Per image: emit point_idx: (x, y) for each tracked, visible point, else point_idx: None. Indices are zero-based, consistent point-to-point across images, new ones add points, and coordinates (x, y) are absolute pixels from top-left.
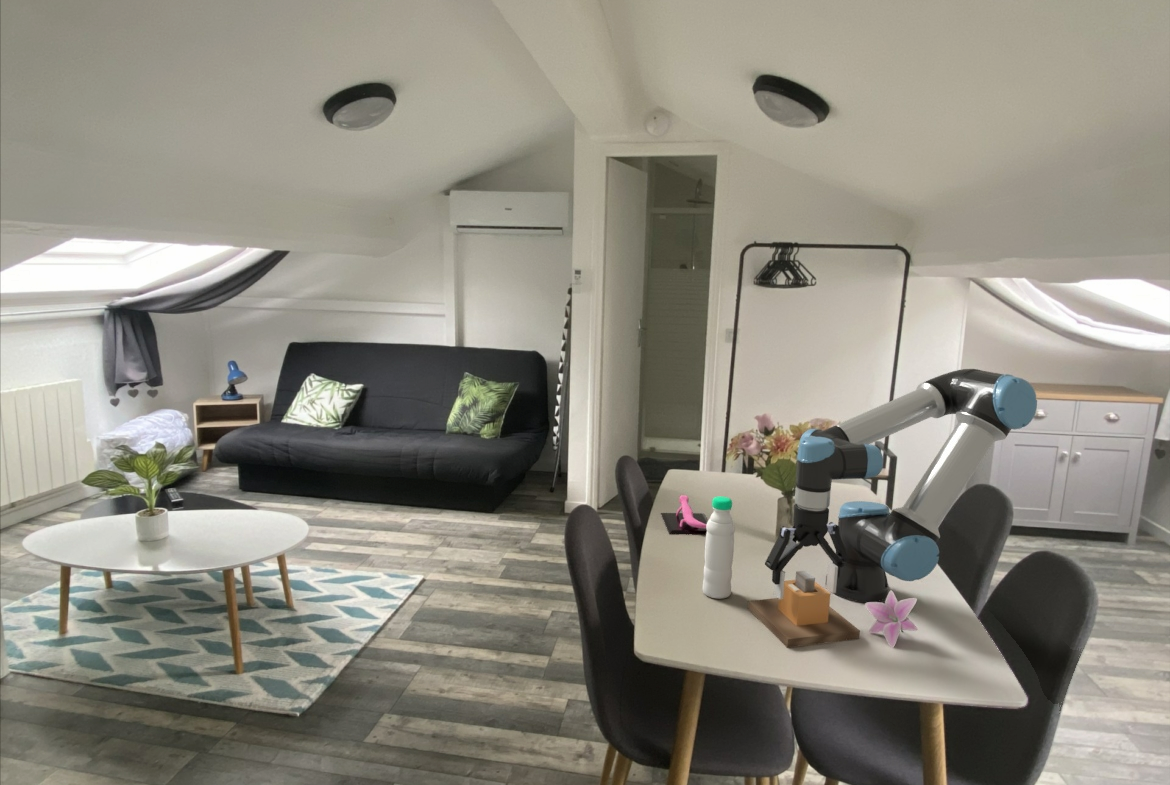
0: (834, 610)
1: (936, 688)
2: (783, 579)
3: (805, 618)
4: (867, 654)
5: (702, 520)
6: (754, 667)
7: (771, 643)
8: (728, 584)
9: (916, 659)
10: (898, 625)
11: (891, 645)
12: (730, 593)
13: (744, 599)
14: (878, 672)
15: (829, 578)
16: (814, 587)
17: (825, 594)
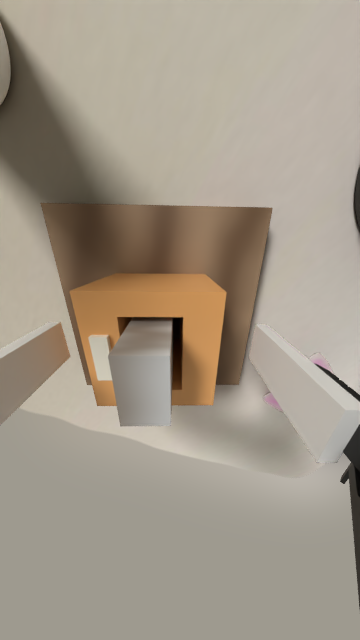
0: (252, 309)
1: (236, 462)
2: (2, 417)
3: None
4: (212, 405)
5: None
6: (24, 404)
7: (71, 357)
8: None
9: (268, 423)
10: None
11: (265, 399)
12: (4, 87)
13: (62, 138)
14: (195, 435)
15: (275, 363)
16: (187, 365)
17: (194, 404)
